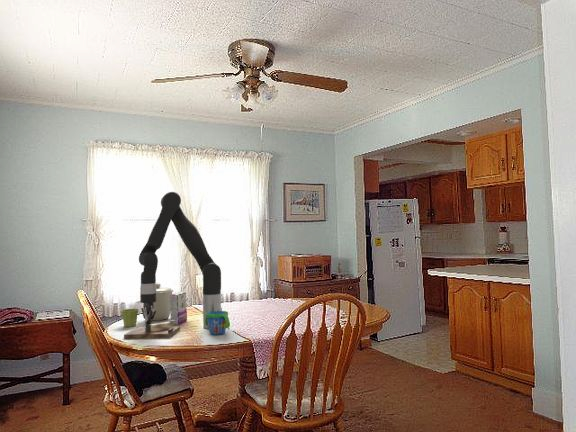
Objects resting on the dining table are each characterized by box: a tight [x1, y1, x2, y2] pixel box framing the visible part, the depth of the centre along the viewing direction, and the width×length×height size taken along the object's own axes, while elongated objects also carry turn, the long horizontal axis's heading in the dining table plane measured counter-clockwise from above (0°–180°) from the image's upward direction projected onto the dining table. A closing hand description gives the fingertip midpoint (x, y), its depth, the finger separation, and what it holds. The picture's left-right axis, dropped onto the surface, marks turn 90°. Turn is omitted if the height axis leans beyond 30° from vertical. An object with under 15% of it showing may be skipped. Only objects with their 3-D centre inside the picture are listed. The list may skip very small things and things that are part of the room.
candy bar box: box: [170, 291, 188, 326], centre depth 239 cm, size 11×5×16 cm, turn 168°
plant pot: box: [120, 308, 140, 328], centre depth 234 cm, size 9×9×9 cm
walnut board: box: [123, 326, 181, 340], centre depth 210 cm, size 22×16×4 cm
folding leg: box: [144, 319, 175, 332], centre depth 211 cm, size 14×3×4 cm, turn 127°
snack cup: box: [205, 310, 231, 336], centre depth 208 cm, size 16×10×10 cm
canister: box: [151, 282, 174, 322], centre depth 252 cm, size 18×18×21 cm
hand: (148, 327), depth 211 cm, fingers closed
